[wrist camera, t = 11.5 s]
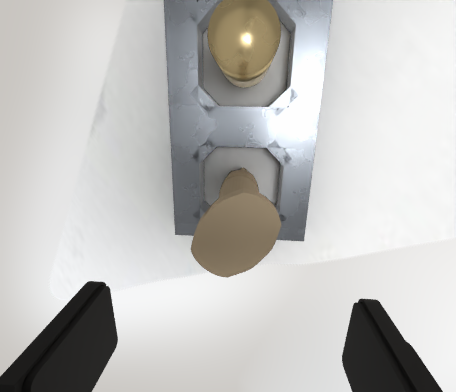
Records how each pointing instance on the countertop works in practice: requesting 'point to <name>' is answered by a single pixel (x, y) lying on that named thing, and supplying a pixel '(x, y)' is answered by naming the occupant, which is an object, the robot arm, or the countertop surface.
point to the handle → (236, 227)
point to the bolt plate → (245, 110)
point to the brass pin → (244, 39)
